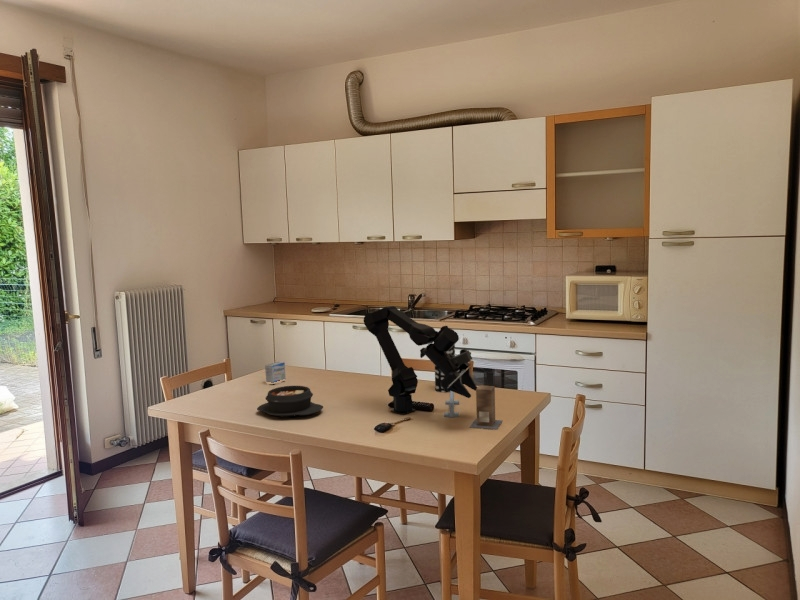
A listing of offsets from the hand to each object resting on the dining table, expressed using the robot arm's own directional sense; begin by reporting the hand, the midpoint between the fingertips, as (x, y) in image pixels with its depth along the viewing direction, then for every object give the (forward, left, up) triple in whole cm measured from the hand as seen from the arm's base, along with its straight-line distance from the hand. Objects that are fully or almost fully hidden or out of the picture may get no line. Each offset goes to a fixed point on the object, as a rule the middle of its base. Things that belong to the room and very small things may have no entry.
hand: (473, 393), depth 197 cm
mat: (+4, +1, -10) cm, 11 cm away
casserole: (-59, -33, -10) cm, 68 cm away
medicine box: (-103, -11, -10) cm, 104 cm away
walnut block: (+4, +1, -10) cm, 11 cm away
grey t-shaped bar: (-16, +7, -10) cm, 20 cm away
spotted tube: (-36, +26, -10) cm, 46 cm away
